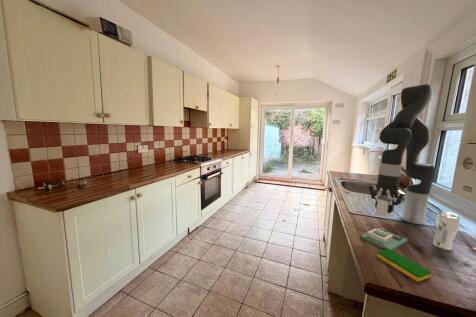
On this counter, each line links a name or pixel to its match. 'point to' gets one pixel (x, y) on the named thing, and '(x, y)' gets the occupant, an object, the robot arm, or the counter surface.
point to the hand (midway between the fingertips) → (383, 210)
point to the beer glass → (445, 230)
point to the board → (384, 239)
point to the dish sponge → (404, 265)
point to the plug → (382, 206)
